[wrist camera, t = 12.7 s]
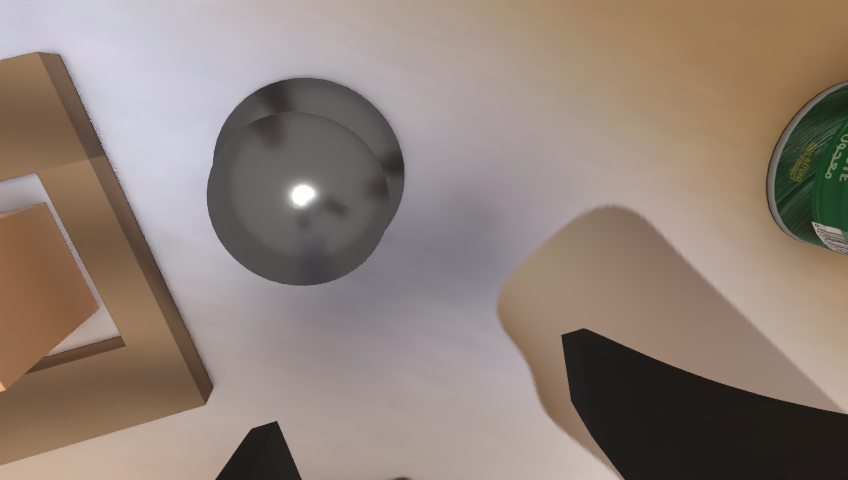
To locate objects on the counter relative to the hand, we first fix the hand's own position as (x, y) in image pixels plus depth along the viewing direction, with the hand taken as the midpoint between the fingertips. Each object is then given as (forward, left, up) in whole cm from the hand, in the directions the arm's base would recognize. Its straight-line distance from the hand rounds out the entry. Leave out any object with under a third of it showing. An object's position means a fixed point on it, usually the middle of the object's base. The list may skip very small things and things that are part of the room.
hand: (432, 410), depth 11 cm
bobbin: (+5, +2, -9) cm, 11 cm away
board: (+4, +14, -9) cm, 17 cm away
